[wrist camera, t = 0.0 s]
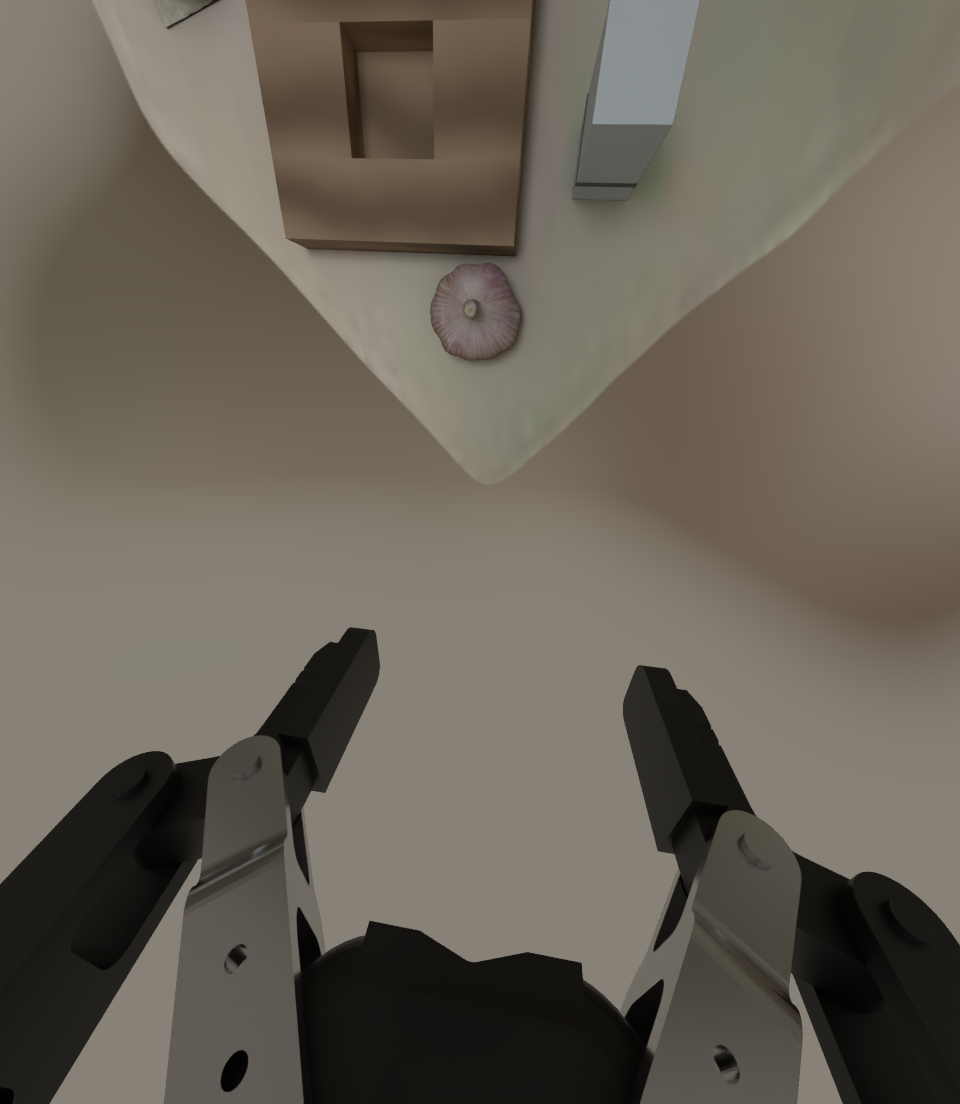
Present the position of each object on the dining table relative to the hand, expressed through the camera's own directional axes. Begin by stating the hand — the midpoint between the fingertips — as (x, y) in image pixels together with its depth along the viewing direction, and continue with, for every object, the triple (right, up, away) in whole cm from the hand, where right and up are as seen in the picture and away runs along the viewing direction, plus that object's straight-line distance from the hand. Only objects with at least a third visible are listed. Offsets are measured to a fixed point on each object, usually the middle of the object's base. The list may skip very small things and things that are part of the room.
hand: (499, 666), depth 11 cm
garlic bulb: (-1, +24, +21) cm, 32 cm away
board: (-6, +35, +15) cm, 39 cm away
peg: (+9, +32, +15) cm, 36 cm away
